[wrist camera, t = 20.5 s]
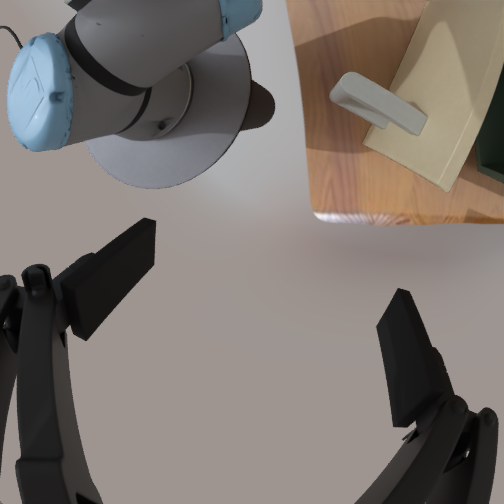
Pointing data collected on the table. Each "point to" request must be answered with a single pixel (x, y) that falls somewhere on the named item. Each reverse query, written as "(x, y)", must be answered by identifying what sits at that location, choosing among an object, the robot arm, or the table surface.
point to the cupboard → (492, 136)
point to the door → (434, 90)
